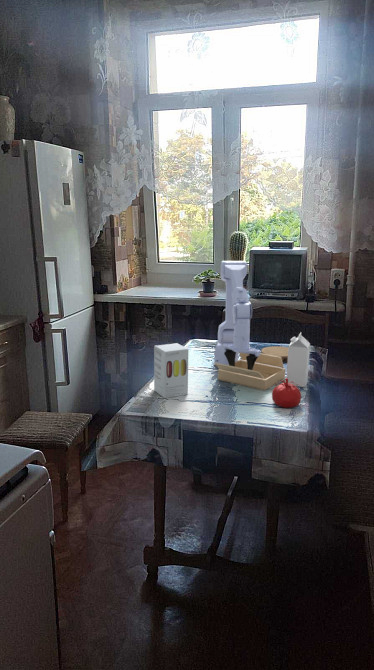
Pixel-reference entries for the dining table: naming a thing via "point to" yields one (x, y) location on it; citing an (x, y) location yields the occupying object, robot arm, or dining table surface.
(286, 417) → the dining table surface
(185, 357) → the supplement box
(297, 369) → the milk carton
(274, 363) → the back flap
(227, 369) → the front flap
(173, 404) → the dining table surface
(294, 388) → the pomegranate
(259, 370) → the carton
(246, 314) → the robot arm
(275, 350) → the wood log slice
